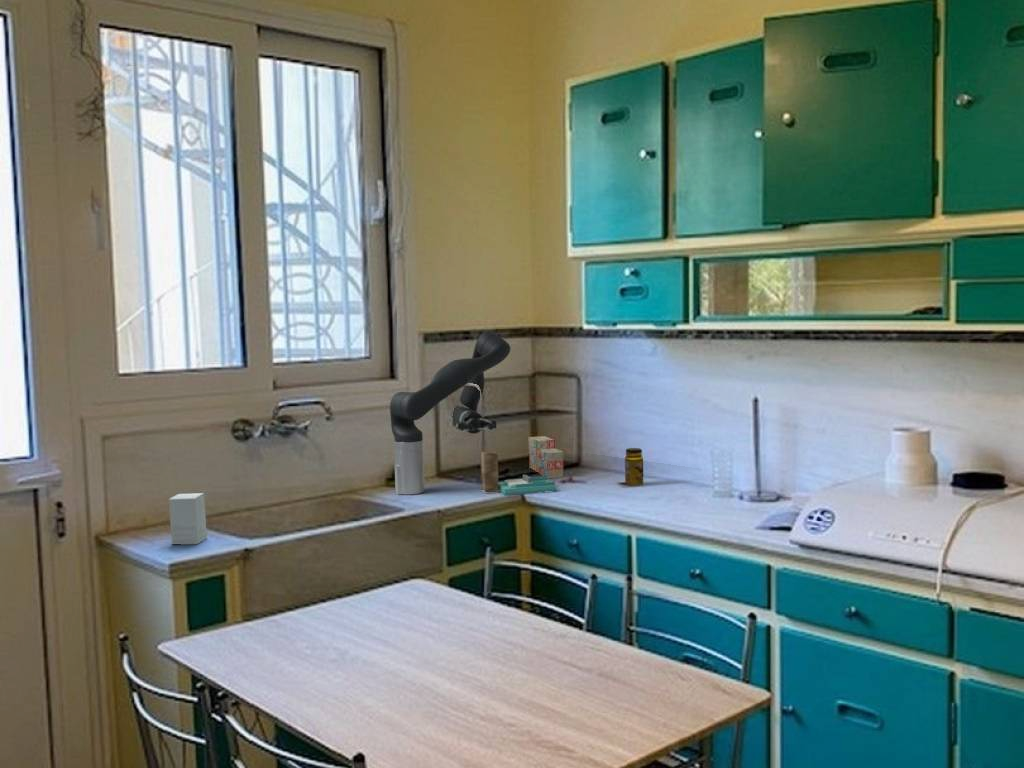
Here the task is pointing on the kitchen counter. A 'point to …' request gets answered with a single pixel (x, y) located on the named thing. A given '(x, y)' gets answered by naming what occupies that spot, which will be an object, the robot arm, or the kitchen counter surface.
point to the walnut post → (489, 471)
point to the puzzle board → (528, 487)
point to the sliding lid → (519, 481)
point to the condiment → (633, 468)
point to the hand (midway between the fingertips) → (481, 427)
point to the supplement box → (187, 518)
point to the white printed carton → (545, 457)
